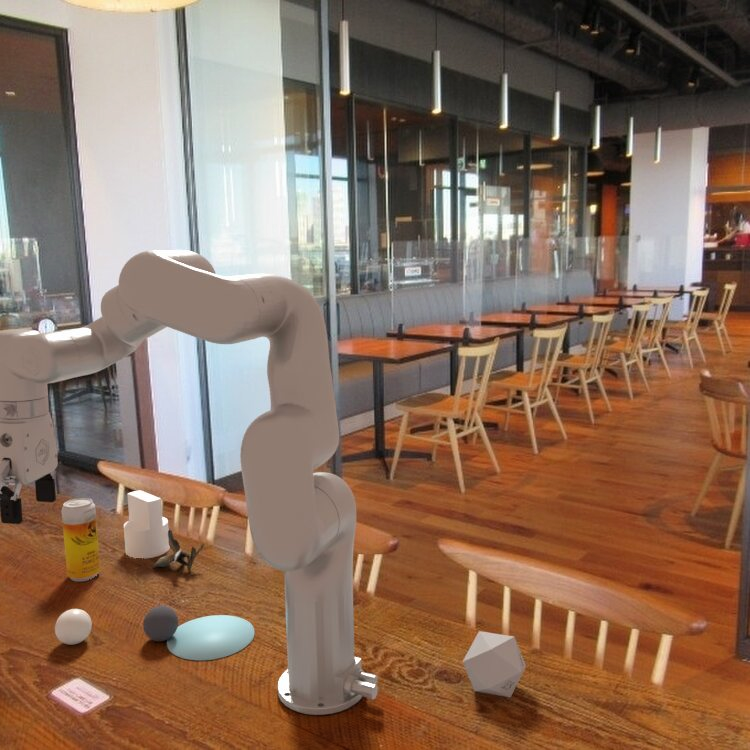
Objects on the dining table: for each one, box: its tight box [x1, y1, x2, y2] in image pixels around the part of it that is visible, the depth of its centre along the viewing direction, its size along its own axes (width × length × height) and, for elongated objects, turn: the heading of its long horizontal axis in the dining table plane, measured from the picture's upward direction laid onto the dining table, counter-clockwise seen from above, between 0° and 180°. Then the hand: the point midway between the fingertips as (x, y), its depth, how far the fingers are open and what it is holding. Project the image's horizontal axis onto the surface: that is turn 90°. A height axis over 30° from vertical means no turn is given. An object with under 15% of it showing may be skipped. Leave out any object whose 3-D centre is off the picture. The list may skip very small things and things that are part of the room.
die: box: [462, 630, 527, 699], centre depth 104 cm, size 8×9×10 cm
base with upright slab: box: [123, 489, 171, 559], centre depth 155 cm, size 9×9×12 cm
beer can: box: [61, 497, 101, 582], centre depth 143 cm, size 6×6×15 cm
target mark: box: [166, 614, 256, 661], centre depth 120 cm, size 14×14×1 cm
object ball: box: [142, 605, 179, 642], centre depth 120 cm, size 6×6×6 cm
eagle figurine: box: [150, 529, 205, 573], centre depth 147 cm, size 8×8×10 cm
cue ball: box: [54, 608, 93, 645], centre depth 119 cm, size 6×6×6 cm
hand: (29, 511), depth 119 cm, fingers open, 9 cm apart
